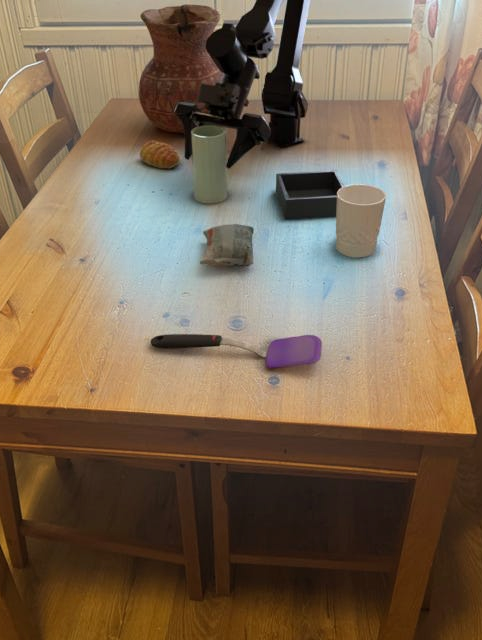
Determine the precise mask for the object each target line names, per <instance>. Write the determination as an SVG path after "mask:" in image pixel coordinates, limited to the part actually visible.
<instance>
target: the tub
mask: <svg viewBox="0 0 482 640" xmlns="http://www.w3.org/2000/svg"><path fill="white" fill-rule="evenodd" d="M275 175H276V176H275V195H276V198H277V201H278V204H279V207H280V209H281V213H282V215H283V218H284V220H285V221H289V220H291V221H292V220H309V219H325V218H336V206H337V192H338V190H339V189H341V188H342V187H345V186H346V185H345V184H344V182H343V180H342V178H341V176H340V175H339V172H338V170H336V169H335V170H317V171H300V172H299V171H298V172H282V173H281V172H280V173H276V174H275Z"/></svg>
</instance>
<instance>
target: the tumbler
mask: <svg viewBox="0 0 482 640" xmlns="http://www.w3.org/2000/svg"><path fill="white" fill-rule="evenodd" d="M191 143H192V155H191V160H192V161H191V162H192V179H193V180H192V181H193V182H192V183H193V196H194V197H193V198H194V199H195V200H196V201H197V202H199V203H203V204H217V203H220V202H223V201H225V200H226V199H227V197H228V179H227V178H228V174H227V173H228V171H227V169H228V168H227V167H226V165H227V130H226V128H225V127H222V126H216V125H204V126H199V127H196V128H194V129H192V131H191Z"/></svg>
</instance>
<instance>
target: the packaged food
mask: <svg viewBox="0 0 482 640" xmlns="http://www.w3.org/2000/svg"><path fill="white" fill-rule="evenodd" d="M254 231H255V230H254V227H253V226H251V225H244V224H238V223H234V224H233V223H232V224H231V223H230V224H222V225H217V226H213V227H210V228H208V229H205V230H203V232H202V234H203V236H204V237H205V239H206V250H205V252H204V255H203V257H202V259H201V260H200V261H199V264H200V265H202V266H204V265H205V266H210V267H240V268H241V267H242V268H245V267H247V268H248V267H249V266H251V265H253V264H254V252H253V251H254V248H253V235H254Z"/></svg>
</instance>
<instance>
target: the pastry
mask: <svg viewBox="0 0 482 640" xmlns="http://www.w3.org/2000/svg"><path fill="white" fill-rule="evenodd" d="M139 157H140V158H141V160H142V162H143V163H146V164H147V165H149V166H151V167H155V168H158V169H171V168H174V167H176V166H178V165H179V164H180V161H181V157H180V155H179V153H178V151H176V149H174V148H173V147H172V146H171V145H170V144H167V143H166V142H161V141H160V142H158V141H157V140H148V141H147V142H146V143H145V144H143V145H142V147H141V150H140V152H139Z"/></svg>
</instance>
